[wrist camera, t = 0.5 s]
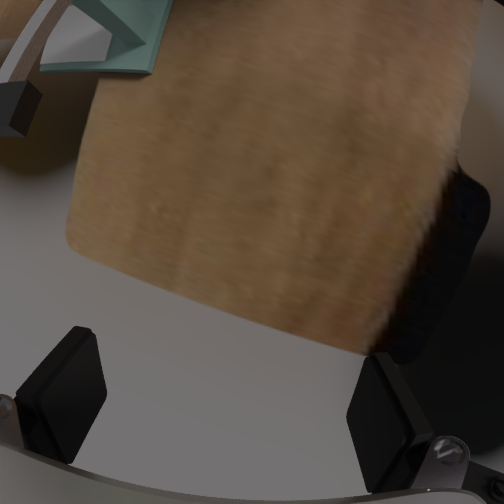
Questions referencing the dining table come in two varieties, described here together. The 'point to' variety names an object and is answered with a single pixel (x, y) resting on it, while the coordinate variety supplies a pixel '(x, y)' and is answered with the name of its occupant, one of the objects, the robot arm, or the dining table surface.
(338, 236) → the dining table surface
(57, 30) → the press frame
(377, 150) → the dining table surface
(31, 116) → the press lever
